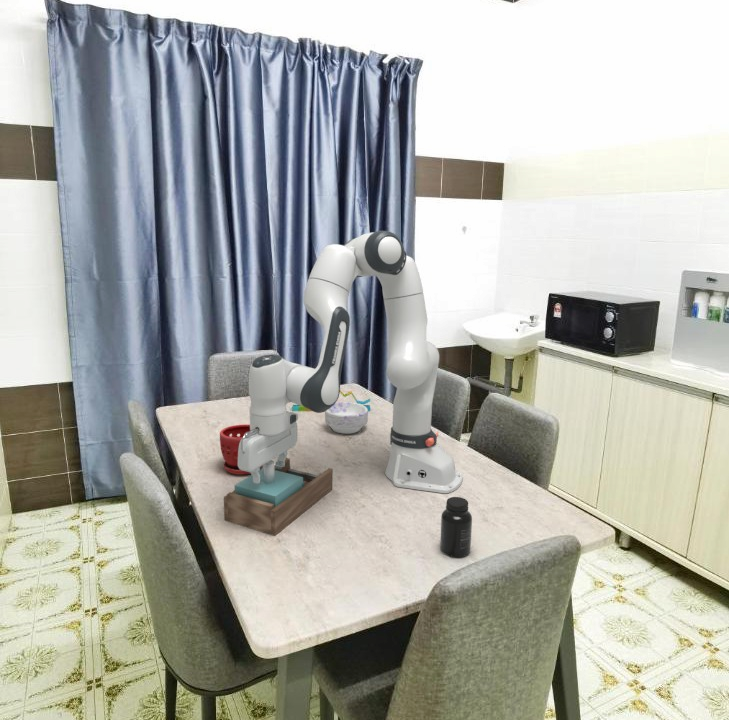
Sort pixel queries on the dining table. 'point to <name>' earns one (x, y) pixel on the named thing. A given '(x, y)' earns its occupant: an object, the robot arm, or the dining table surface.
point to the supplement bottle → (456, 528)
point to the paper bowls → (346, 417)
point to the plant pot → (232, 447)
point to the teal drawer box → (270, 485)
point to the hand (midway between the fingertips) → (269, 474)
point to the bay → (285, 513)
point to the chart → (301, 408)
